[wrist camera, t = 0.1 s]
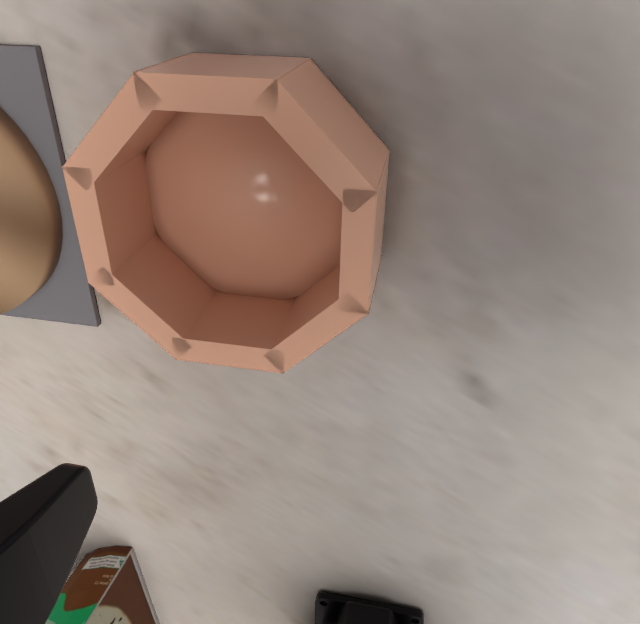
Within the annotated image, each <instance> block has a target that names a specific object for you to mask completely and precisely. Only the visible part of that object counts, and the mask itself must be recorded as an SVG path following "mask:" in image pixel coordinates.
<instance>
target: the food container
mask: <svg viewBox="0 0 640 624" xmlns="http://www.w3.org/2000/svg"><path fill="white" fill-rule="evenodd" d="M45 624H160V623H159V621H158V618H157V615H156V612H155V609H154V606H153V604H152V601H151V598H150V595H149V592H148V589H147V586H146V584H145V581H144V578H143V575H142V572H141V569H140V567H139V564H138V561H137V558H136V555H135V552H134V549H133V547H128V546H110V547H104V548H98V549H96V550H95V551H93V552H91V553H89V554H87V555H86V556H85V557H84V559H83V560H82V561H81V563H80V564H79V566H78V567H77V568H76V570H75V571H74V572H73V574H72V575H71V577H70V578H69V579H68V581H67V582H66V583H65V585H64V587H63V589H62V591H61V594H60V596H59V598H58V600H57V602H56V604H55V606H54V608H53V610H52V612H51V614H50V616H49V617H48V619H47V621H46V623H45Z"/></svg>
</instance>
